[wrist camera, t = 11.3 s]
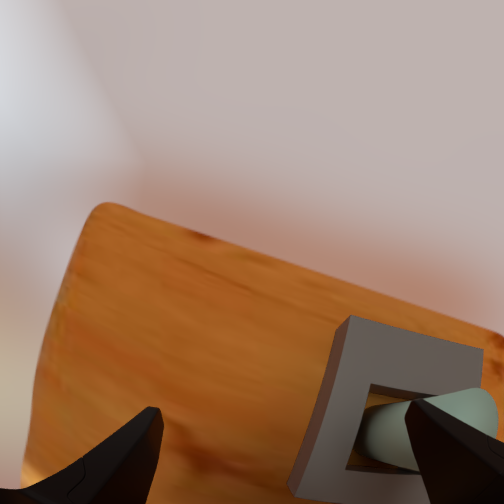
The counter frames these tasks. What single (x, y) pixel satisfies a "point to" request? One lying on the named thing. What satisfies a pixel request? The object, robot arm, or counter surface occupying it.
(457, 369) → the socket block
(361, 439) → the teal peg
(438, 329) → the counter surface
